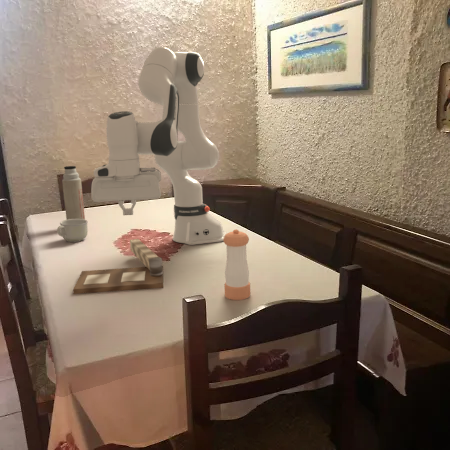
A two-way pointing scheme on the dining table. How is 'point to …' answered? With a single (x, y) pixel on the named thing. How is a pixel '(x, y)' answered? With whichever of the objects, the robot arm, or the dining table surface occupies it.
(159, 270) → the swing bar
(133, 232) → the dining table surface
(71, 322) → the dining table surface
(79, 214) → the thermos bottle
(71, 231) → the teacup
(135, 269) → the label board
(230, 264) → the pepper shaker
